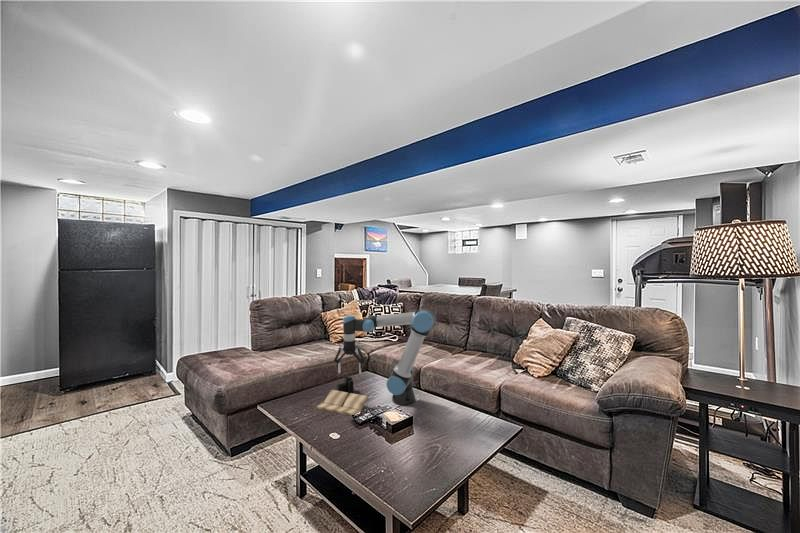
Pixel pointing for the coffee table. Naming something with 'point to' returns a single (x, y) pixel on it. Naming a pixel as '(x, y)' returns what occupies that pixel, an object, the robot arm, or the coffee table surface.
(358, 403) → the plank
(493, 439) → the coffee table surface
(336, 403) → the plank
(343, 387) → the camera
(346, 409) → the oak row
